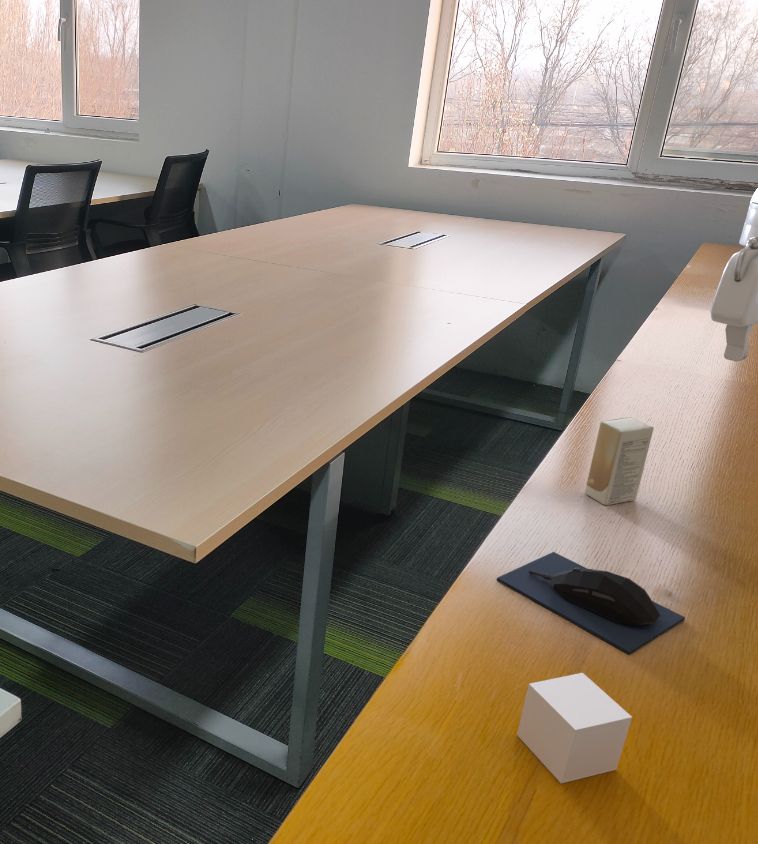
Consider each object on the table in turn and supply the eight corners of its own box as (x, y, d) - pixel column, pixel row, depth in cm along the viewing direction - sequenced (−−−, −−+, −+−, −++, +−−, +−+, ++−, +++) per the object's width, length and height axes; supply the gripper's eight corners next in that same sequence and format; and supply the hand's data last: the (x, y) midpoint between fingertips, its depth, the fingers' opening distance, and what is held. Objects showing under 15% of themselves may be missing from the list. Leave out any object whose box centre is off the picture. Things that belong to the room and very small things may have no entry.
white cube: (516, 735, 75) (528, 683, 73) (569, 723, 77) (582, 672, 75) (561, 784, 70) (575, 729, 68) (616, 770, 71) (632, 716, 69)
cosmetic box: (614, 488, 125) (633, 416, 121) (636, 501, 122) (656, 426, 117) (581, 493, 123) (599, 419, 119) (603, 506, 120) (622, 430, 115)
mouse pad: (684, 620, 93) (685, 617, 93) (629, 654, 87) (630, 651, 87) (552, 554, 106) (553, 551, 106) (496, 580, 100) (496, 577, 100)
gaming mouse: (540, 563, 103) (546, 536, 102) (664, 614, 93) (673, 585, 92) (518, 581, 99) (524, 553, 97) (646, 637, 89) (655, 607, 88)
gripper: (780, 243, 80) (740, 375, 85) (860, 232, 91) (820, 349, 96) (714, 234, 85) (680, 359, 90) (796, 224, 95) (762, 336, 101)
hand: (753, 354), depth 93 cm, fingers open, 8 cm apart
